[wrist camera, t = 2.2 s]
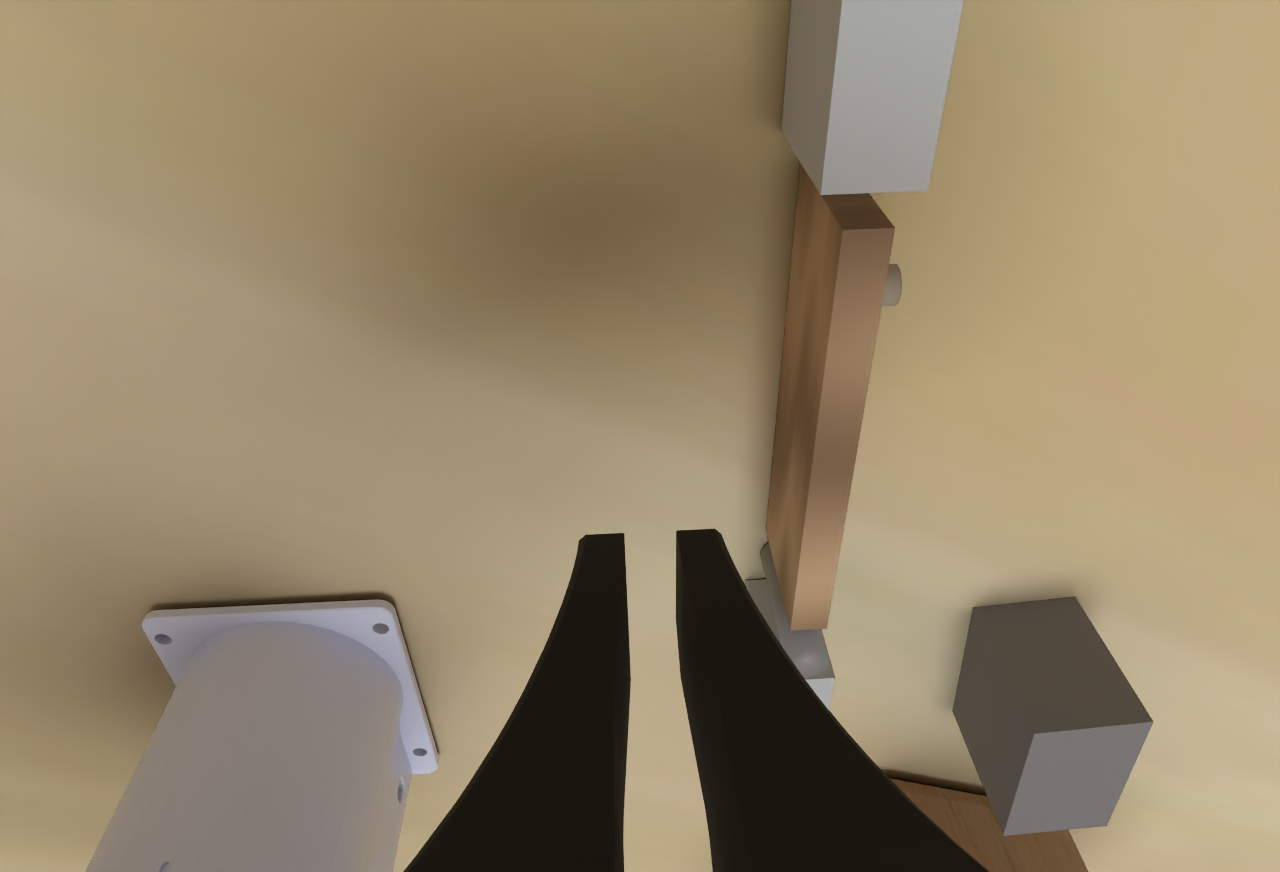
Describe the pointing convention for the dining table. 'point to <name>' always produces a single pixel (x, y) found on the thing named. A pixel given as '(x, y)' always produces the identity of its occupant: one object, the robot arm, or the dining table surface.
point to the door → (824, 387)
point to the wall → (858, 158)
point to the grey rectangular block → (1047, 716)
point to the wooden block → (993, 833)
